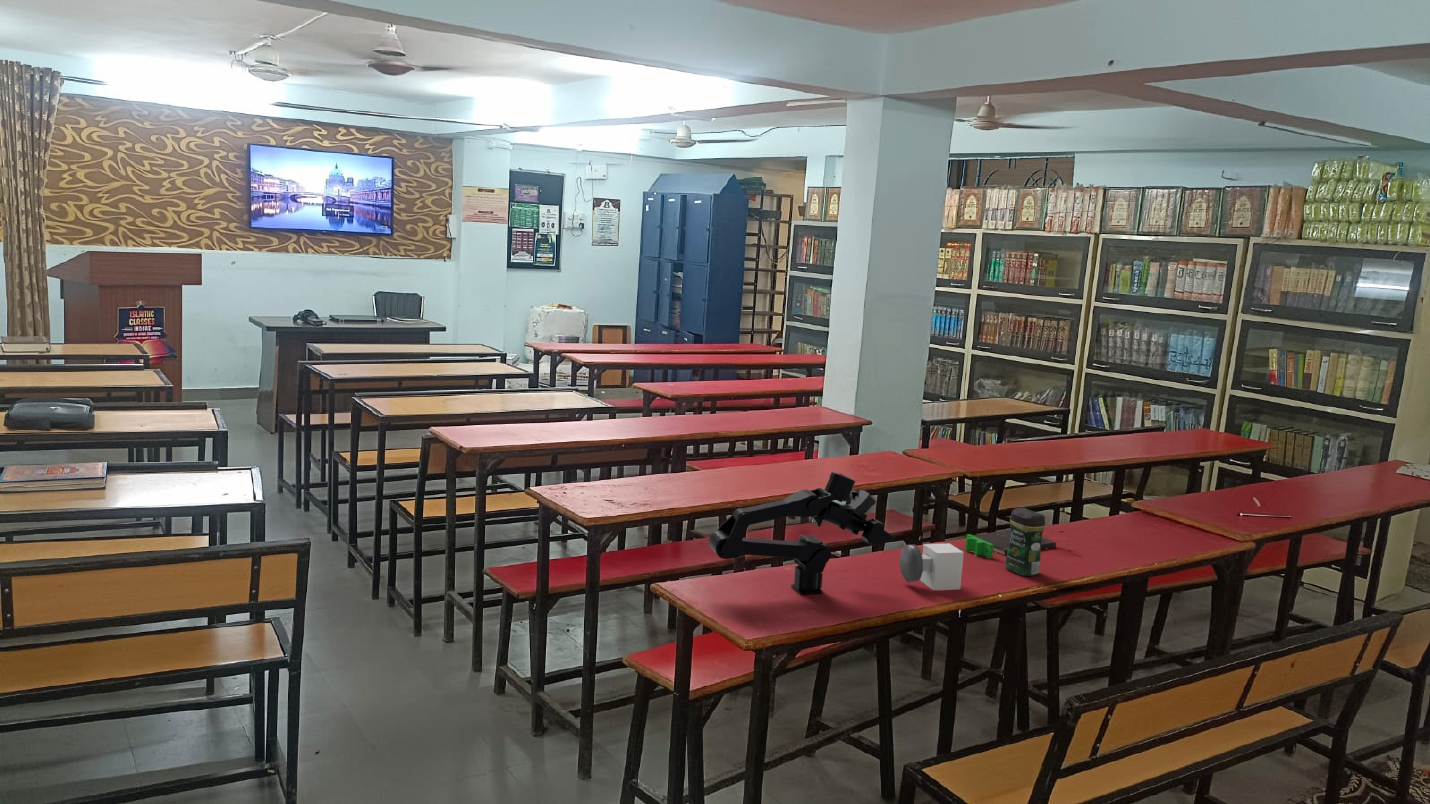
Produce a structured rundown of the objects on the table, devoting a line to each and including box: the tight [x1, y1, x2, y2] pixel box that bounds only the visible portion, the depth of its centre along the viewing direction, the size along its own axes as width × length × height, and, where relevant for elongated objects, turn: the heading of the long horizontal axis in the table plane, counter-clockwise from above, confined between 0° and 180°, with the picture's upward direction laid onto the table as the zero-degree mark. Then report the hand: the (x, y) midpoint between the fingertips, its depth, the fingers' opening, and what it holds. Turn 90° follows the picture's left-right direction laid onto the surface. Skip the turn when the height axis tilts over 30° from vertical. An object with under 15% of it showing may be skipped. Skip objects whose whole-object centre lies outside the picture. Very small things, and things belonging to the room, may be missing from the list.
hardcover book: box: [971, 529, 1057, 556], centre depth 313 cm, size 16×23×2 cm
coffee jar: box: [1004, 507, 1046, 577], centre depth 285 cm, size 10×8×19 cm
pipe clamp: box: [964, 533, 994, 559], centre depth 301 cm, size 11×4×5 cm, turn 25°
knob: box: [899, 544, 933, 583], centre depth 268 cm, size 7×10×10 cm
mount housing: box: [919, 543, 965, 591], centre depth 270 cm, size 8×8×10 cm
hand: (886, 534), depth 265 cm, fingers open, 9 cm apart
